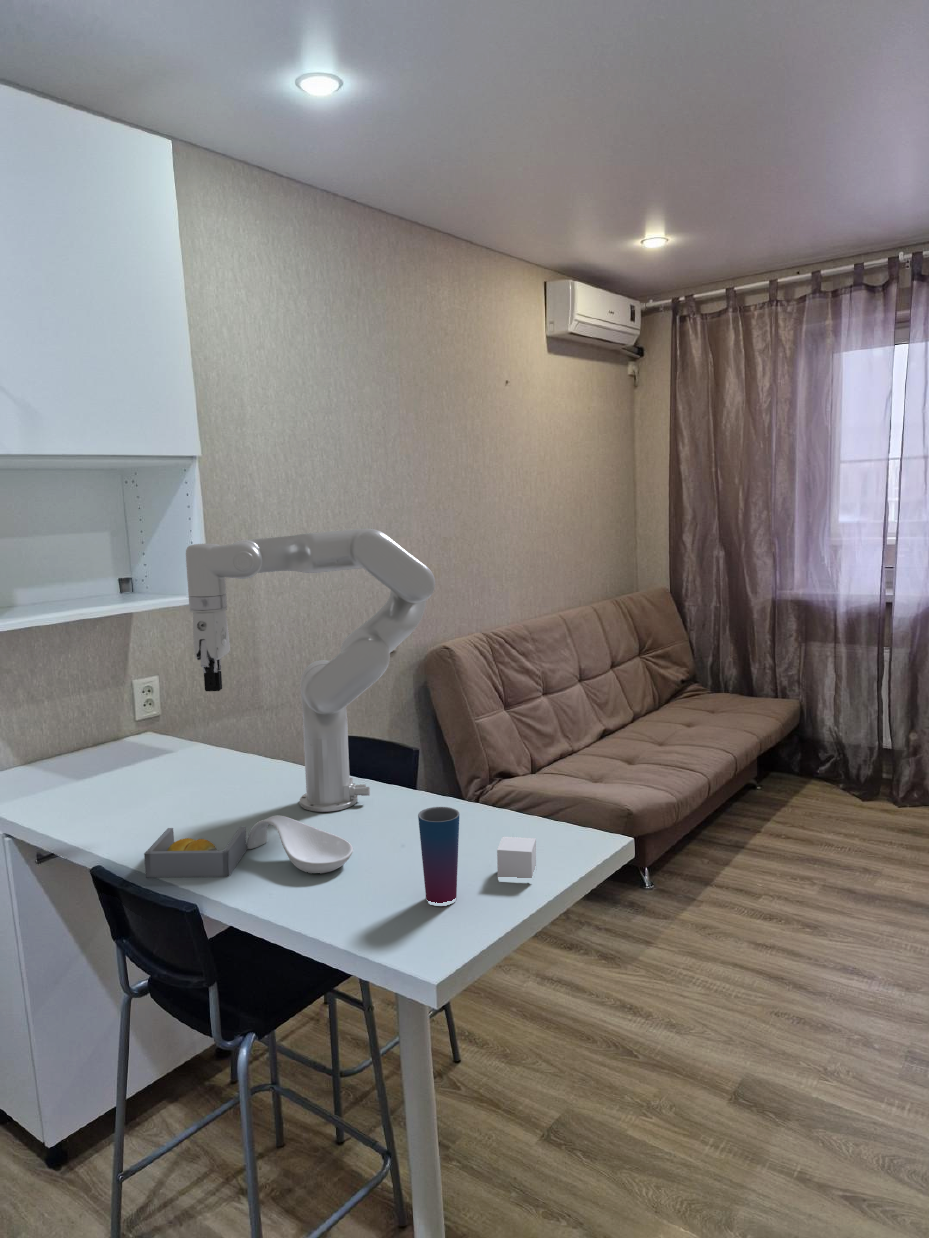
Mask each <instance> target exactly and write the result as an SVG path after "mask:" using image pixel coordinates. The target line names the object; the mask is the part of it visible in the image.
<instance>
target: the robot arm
mask: <svg viewBox="0 0 929 1238" xmlns="http://www.w3.org/2000/svg"><path fill="white" fill-rule="evenodd" d="M185 562H186V563H185V565H186V579H187V593H188V608H189V613H192V638H193V639H192V641H193V653H194V658H195V659H196V660H197V661H200V667H201V668H202V671H203V681H204V682H203V683H204V690H205V692H220V691H221V690H222V689H223V677H222V676H223V675H222V671H221V670H222V658H224V657H225V656H227V655H228V654H229V653H230V652H231V644H230V641H231V640H230V633H229V625H228V618H227V613H226V611H228V603H227V602H228V600H227V584H226V581H227V580H226V579H227V578H229V579H236V580H237V579H240V580H245V579H251V578H253V577H254V576H256V575H257V574H263V573H264V574H265V573H273V572H298V573H303V574H320V573H327V572H329V573H331V572H339V571H350V570H360V569H364V570H365V572H367V573H368V574H370V576H372V577H373V578H375V579H376V580H377V581H379V582H380V583H381V584H382V585H384V586H385V587H386V588H388V589H389V590H390V593H389V596H388V599H387V601H386V603H385V604H384V605H383V606H382V607H381V608H380V609H379V610H378V611H377V612H375V613H374V615H373V616H371V617H370V618H368V620H367V621H365V622H364V623H362V625H360V626H359V627H357V628H356V629H355V630H354V631H352V632H351V633H350V634H348V635H347V637H345V638H344V640H343V641H342V643H341V646H340V652H339V653H338V654H337V655H336V656H334V657H333V658H332V659H331V660H326V659H324V660H323V659H320V660H315V661H313V662H311V663H310V664H308V665H307V666H306V667H305V668H304V670H303V672H302V674H301V677H300V683H299V685H300V700H301V710H302V711H301V712H302V725H303V727H302V729H303V750H304V771H305V790H306V793H305V794H302V796H300V798H299V806H300V807H301V808H302V809H305V810H306V811H310V812H318V813H319V812H321V813H327V812H329V813H330V812H336V811H341V810H342V811H343V810H345V809H348V808H351V807H352V806H354V805H356V803H357V802H358V796H361V797H362V796H363V797H364V796H365V797H367V796H368V797H369V796H370V795H371V786H367V784H365V783H364V784H363V783H362V784H356V783H355V782H354V780H353V777H350V776H351V775H350V759H349V757H350V756H349V733H348V732H349V731H348V730H349V729H348V727H349V726H348V725H349V724H348V711H347V706H349V705H350V704H351V703H352V702H354V701H355V700H356V699H357V698H358V697H360V696H361V695H362V694H363V693H364V692H365V691H367V690H368V689H369V688H370V687H371V686H373V685H374V684H375V683H376V682H378V680H380V678H381V677H382V676H383V675H384V674H385V672H386V671H387V669H388V667H389V665H390V660H391V653H392V652H393V651H394V650H395V649H396V648H398V646H399V645H401V643H403V642H404V641H405V640H406V639H408V637H409V636H410V635H411V634H412V633H413V632H414V631H415V630H416V629H417V627H418V626H419V624H420V623H421V621H422V619H423V616H424V613H425V610H426V606H427V600H429V599H430V598H431V597H432V595H433V594H434V591H435V588H436V578H435V575H434V573H433V571H432V570H431V569H430V568H429V567H428V566H427V565H426V564H425V563H423V562H421V561H420V560H419V559H418V558H416V557H415V556H414V555H412V554H411V553H410V552H408V551H407V550H406V549H404V548H403V547H402V546H401V545H400V544H398V543H397V542H396V541H395V540H393V539H392V538H391V537H389V535H387V534H386V533H384V532H383V531H381V530H378V529H374V528H369V527H368V528H367V527H365V528H356V529H355V528H354V529H343V530H342V529H341V530H329V531H320V532H318V531H317V532H308V533H307V532H306V533H299V534H294V535H287V536H274V537H273V536H271V537H262V538H251V539H250V538H249V539H241V540H237V541H235V542H233V543H230V544H219V543H195V544H190V545H188V546H187V547H186V549H185Z"/></svg>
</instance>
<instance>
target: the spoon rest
mask: <svg viewBox="0 0 929 1238" xmlns="http://www.w3.org/2000/svg"><path fill="white" fill-rule="evenodd" d="M269 825H271V826H273V827H274V828H275V830H276V832H277V833H278V836H279V839H280V843H281V844H282V847H283V849H284V852H285V854H286V855H287V858H288V859H289V861H290V862H291V863H292V864H293V865H294V867H296V868H297V869H299V870H300V871H302V872H305V873H307V872H308V874H312V873H320V874H325V873H330V872H333V871H336V870H337V869H340V867H342V866H344V864H345V863H347V861H348V860H349V859H350V858H351V856H352V855H353V853H354V848H353V845H352V844H351V843H350V842H349V841H348V840H346V839H345V838H343V837H341V836H339V835H336V834H334V833H331V832H328V831H325V830H323V829H320V828H318V827H317V828H316V827H315V826H312V825H309V824H307V823H304V822H302V821H299V820H296V819H293V818H290V817H289V816H285V815H279V814H278V815H272V816H269V817H268V818H266V819H262V820H259V821H258V822H256V823H255V824H254V825H253V826H252V827H251V829H250V831H249V833H248V836H247V838H246V843H247V850H253V849H256V848H258V847H260V846H262V845H265V844H267V842H268V834H267V833H268V827H269Z"/></svg>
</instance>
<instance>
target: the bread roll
mask: <svg viewBox="0 0 929 1238" xmlns="http://www.w3.org/2000/svg"><path fill="white" fill-rule="evenodd" d="M167 851H217V847H216V845H215V844H214V843H213V842H211V841H209V840H207V839H204V838H198V839H194V838H191V837H190V838H189V837H188V838H187V837H186V838H181V839H178V840H175V841H174V843H173V844H172V845H170V847H169V848H168V850H167Z"/></svg>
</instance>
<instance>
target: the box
mask: <svg viewBox="0 0 929 1238" xmlns="http://www.w3.org/2000/svg"><path fill="white" fill-rule="evenodd" d="M246 827H247V826H240V827H239V828H238V830H237V831H236V833H235V834H234V835H233V837H232V838H231V839H230V841H229V843H227V845H226V847H225V848H224V849H223V850H219V849H218V850H217V851H167V850H168V848H169V847H170V845H172V844H173V843H174V842H175V833H174V828H173V827H167V829H166V830H164V832H162V833H161V835H160V836H159V837H158V838H156V839H157V840H155V841H154V842H153V843H152V844H151V845H150V847H149V848H148V849H147V850H146V851H145V852H144V853H143V856H144V865H145V866H144V867H145V869H144V870H145V878H201V877H202V878H204V877H205V878H208V877H209V878H215V877H216V878H217V877H218V878H219V877H223V878H224V877H230V876H231V875H232V873H233V872H234V870H235V868H236V866H237V865H238V864H239V862H240V861H241V859H242V858H243V856H244V854H246V852H247V850H248V849H247V830H246V829H247V828H246Z"/></svg>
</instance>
